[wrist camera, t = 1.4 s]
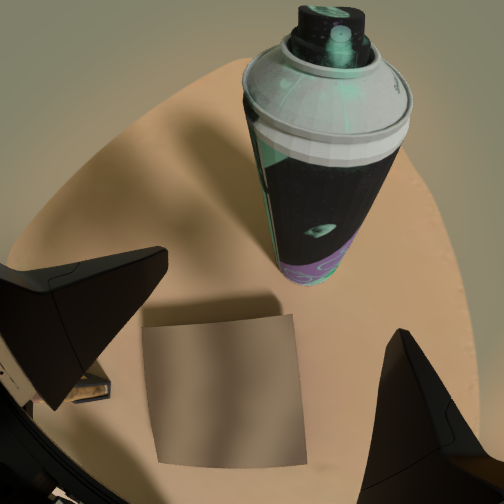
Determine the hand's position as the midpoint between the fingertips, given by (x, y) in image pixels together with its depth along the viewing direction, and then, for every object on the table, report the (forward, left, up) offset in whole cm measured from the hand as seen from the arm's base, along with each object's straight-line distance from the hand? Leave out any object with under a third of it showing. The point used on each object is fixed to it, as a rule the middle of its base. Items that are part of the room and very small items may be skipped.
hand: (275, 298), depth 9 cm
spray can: (+3, +5, -13) cm, 15 cm away
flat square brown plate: (-5, -6, -13) cm, 15 cm away
